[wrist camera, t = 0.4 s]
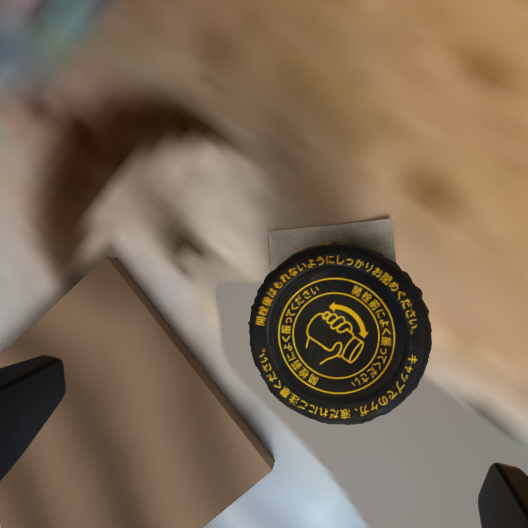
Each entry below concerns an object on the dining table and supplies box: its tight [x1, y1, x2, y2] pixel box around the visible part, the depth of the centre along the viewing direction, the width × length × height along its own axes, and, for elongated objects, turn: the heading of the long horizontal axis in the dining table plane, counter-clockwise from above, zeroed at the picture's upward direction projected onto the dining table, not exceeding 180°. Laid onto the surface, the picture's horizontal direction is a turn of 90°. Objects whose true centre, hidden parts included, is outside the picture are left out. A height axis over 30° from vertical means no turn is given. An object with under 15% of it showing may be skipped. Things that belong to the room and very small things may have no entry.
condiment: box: [249, 219, 432, 425], centre depth 16 cm, size 7×8×12 cm
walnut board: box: [0, 257, 275, 528], centre depth 23 cm, size 16×16×1 cm
